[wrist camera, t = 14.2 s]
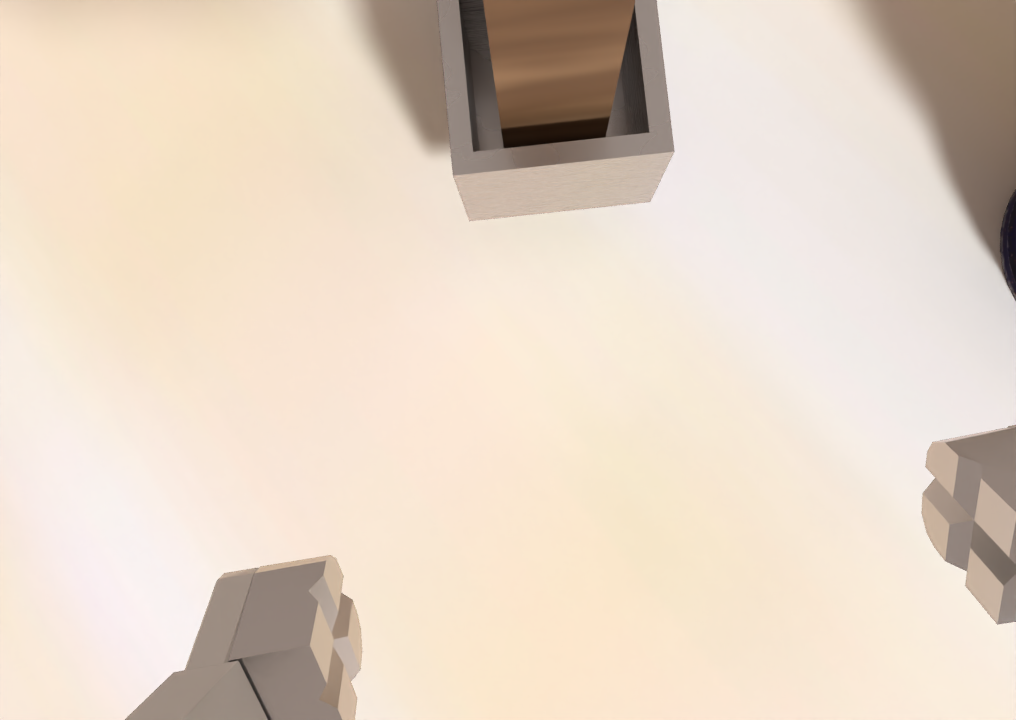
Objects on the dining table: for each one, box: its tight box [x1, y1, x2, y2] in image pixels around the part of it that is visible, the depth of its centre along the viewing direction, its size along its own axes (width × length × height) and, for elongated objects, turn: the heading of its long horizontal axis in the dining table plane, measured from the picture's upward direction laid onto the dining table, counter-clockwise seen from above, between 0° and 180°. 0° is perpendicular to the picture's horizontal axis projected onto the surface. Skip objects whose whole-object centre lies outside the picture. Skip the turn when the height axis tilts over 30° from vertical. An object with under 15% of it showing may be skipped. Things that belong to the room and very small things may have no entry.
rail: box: [483, 0, 635, 148], centre depth 22 cm, size 4×4×14 cm
